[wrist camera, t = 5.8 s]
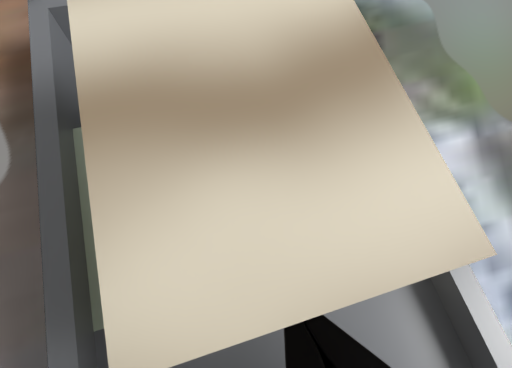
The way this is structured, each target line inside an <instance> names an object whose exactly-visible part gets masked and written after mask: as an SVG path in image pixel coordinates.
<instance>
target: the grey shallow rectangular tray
mask: <svg viewBox="0 0 512 368" xmlns="http://www.w3.org/2000/svg"><path fill="white" fill-rule="evenodd" d="M28 14H29V33H30V51H31V69H32V87H33V106H34V124H35V142H36V160H37V179H38V197H39V215H40V234H41V252H42V270H43V288H44V307H45V325H46V343H47V361H48V368H109V366H108V357H107V348H106V339H105V331H104V322H103V313H102V304H101V295H100V287H99V278H98V269H97V260H96V252H95V243H94V234H93V225H92V216H91V208H90V199H89V190H88V181H87V173H86V164H85V155H84V146H83V137H82V129H81V120H80V111H79V102H78V93H77V85H76V76H75V67H74V58H73V50H72V41H71V32H70V23H69V14H68V6H67V0H28ZM323 315H324V316H325V317H327V318H328V319H329V320H331V321H332V322H333V323H334V324H336V325H337V326H338V327H340V328H341V329H342V330H343V331H345V332H346V333H347V334H349V335H350V336H351V337H353V338H354V339H355V340H356V341H358V342H359V343H360V344H362V345H363V346H364V347H365V348H367V349H368V350H369V351H371V352H372V353H373V354H375V355H376V356H377V357H378V358H380V359H381V360H382V361H384V362H385V363H386V364H387V365H389V366H390V367H391V368H512V345H511V343H510V341H509V339H508V337H507V335H506V333H505V331H504V330H503V328H502V326H501V324H500V322H499V320H498V318H497V316H496V314H495V313H494V311H493V309H492V307H491V305H490V303H489V301H488V299H487V297H486V295H485V294H484V292H483V290H482V288H481V286H480V284H479V282H478V280H477V278H476V276H475V275H474V273H473V271H472V269H471V267H470V265H469V264H468V265H465V266H462V267H459V268H456V269H454V270H451V271H448V272H445V273H442V274H439V275H436V276H433V277H430V278H427V279H425V280H422V281H419V282H416V283H413V284H410V285H407V286H404V287H401V288H398V289H396V290H393V291H390V292H387V293H384V294H381V295H378V296H375V297H372V298H369V299H367V300H364V301H361V302H358V303H355V304H352V305H349V306H346V307H343V308H340V309H338V310H335V311H332V312H329V313H326V314H323ZM169 368H286V366H285V345H284V328H283V329H280V330H277V331H274V332H271V333H268V334H265V335H262V336H259V337H256V338H254V339H251V340H248V341H245V342H242V343H239V344H236V345H233V346H230V347H227V348H225V349H222V350H219V351H216V352H213V353H210V354H207V355H204V356H201V357H198V358H196V359H193V360H190V361H187V362H184V363H181V364H178V365H175V366H172V367H169Z"/></svg>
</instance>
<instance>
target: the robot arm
mask: <svg viewBox="0 0 512 368" xmlns="http://www.w3.org/2000/svg"><path fill="white" fill-rule="evenodd" d="M284 345H285V366H286V368H391V367H390V366H389V365H387V364H386V363H385V362H384V361H382V360H381V359H380V358H378V357H377V356H376V355H375V354H373V353H372V352H371V351H369V350H368V349H367V348H365V347H364V346H363V345H362V344H360V343H359V342H358V341H356V340H355V339H354V338H353V337H351V336H350V335H349V334H347V333H346V332H345V331H343V330H342V329H341V328H340V327H338V326H337V325H336V324H334V323H333V322H332V321H331V320H329V319H328V318H327V317H325V316H324V315H320V316H317V317H314V318H311V319H309V320H306V321H303V322H300V323H297V324H294V325H291V326H288V327H285V328H284Z"/></svg>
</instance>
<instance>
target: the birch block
mask: <svg viewBox="0 0 512 368" xmlns="http://www.w3.org/2000/svg"><path fill="white" fill-rule="evenodd" d="M67 6H68V14H69V23H70V32H71V41H72V50H73V58H74V67H75V76H76V85H77V93H78V102H79V111H80V120H81V129H82V137H83V146H84V155H85V164H86V173H87V181H88V190H89V199H90V208H91V216H92V225H93V234H94V243H95V252H96V260H97V269H98V278H99V287H100V295H101V304H102V313H103V322H104V331H105V339H106V348H107V357H108V366H109V368H169V367H172V366H175V365H178V364H181V363H184V362H187V361H190V360H193V359H196V358H198V357H201V356H204V355H207V354H210V353H213V352H216V351H219V350H222V349H225V348H227V347H230V346H233V345H236V344H239V343H242V342H245V341H248V340H251V339H254V338H256V337H259V336H262V335H265V334H268V333H271V332H274V331H277V330H280V329H283V328H285V327H288V326H291V325H294V324H297V323H300V322H303V321H306V320H309V319H311V318H314V317H317V316H320V315H323V314H326V313H329V312H332V311H335V310H338V309H340V308H343V307H346V306H349V305H352V304H355V303H358V302H361V301H364V300H367V299H369V298H372V297H375V296H378V295H381V294H384V293H387V292H390V291H393V290H396V289H398V288H401V287H404V286H407V285H410V284H413V283H416V282H419V281H422V280H425V279H427V278H430V277H433V276H436V275H439V274H442V273H445V272H448V271H451V270H454V269H456V268H459V267H462V266H465V265H468V264H471V263H474V262H477V261H480V260H482V259H485V258H488V257H491V256H494V255H497V254H496V252H495V250H494V248H493V247H492V245H491V243H490V241H489V240H488V238H487V236H486V234H485V232H484V231H483V229H482V227H481V225H480V224H479V222H478V220H477V218H476V216H475V215H474V213H473V211H472V209H471V208H470V206H469V204H468V202H467V200H466V199H465V197H464V195H463V193H462V192H461V190H460V188H459V186H458V184H457V183H456V181H455V179H454V177H453V176H452V174H451V172H450V170H449V168H448V167H447V165H446V163H445V161H444V160H443V158H442V156H441V154H440V152H439V151H438V149H437V147H436V145H435V144H434V142H433V140H432V138H431V137H430V135H429V133H428V131H427V129H426V128H425V126H424V124H423V122H422V121H421V119H420V117H419V115H418V113H417V112H416V110H415V108H414V106H413V105H412V103H411V101H410V99H409V97H408V96H407V94H406V92H405V90H404V89H403V87H402V85H401V83H400V81H399V80H398V78H397V76H396V74H395V73H394V71H393V69H392V67H391V65H390V64H389V62H388V60H387V58H386V57H385V55H384V53H383V51H382V49H381V48H380V46H379V44H378V42H377V41H376V39H375V37H374V35H373V34H372V32H371V30H370V28H369V26H368V25H367V23H366V21H365V19H364V18H363V16H362V14H361V12H360V10H359V9H358V7H357V5H356V3H355V2H354V0H67Z"/></svg>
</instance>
